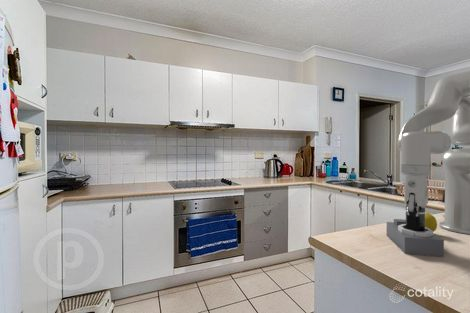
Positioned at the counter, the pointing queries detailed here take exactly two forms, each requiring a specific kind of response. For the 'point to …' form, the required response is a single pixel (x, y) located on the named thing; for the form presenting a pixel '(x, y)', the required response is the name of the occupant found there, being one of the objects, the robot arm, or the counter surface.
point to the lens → (422, 219)
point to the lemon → (430, 222)
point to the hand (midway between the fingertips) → (414, 225)
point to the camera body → (415, 239)
